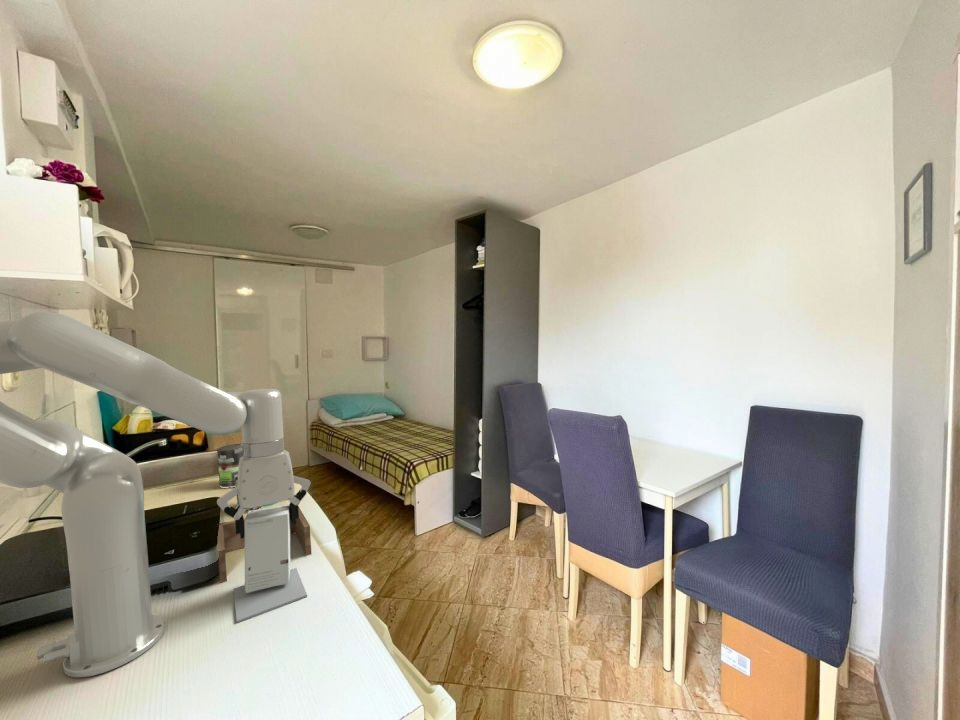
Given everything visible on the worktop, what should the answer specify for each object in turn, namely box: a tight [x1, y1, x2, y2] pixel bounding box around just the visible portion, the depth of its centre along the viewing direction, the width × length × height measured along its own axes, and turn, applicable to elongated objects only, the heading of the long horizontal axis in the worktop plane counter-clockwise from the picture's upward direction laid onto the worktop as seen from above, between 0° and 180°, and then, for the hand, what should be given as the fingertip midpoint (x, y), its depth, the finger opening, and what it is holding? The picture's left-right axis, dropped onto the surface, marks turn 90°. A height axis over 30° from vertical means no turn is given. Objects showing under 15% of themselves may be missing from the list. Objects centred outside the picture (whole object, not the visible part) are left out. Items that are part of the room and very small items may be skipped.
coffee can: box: [216, 443, 243, 487], centre depth 147 cm, size 10×10×14 cm
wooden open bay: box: [217, 505, 312, 584], centre depth 95 cm, size 18×16×7 cm
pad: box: [232, 567, 308, 624], centre depth 79 cm, size 12×12×1 cm
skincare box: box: [244, 504, 291, 593], centre depth 82 cm, size 8×6×15 cm
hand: (268, 528), depth 82 cm, fingers closed on skincare box, 9 cm apart
